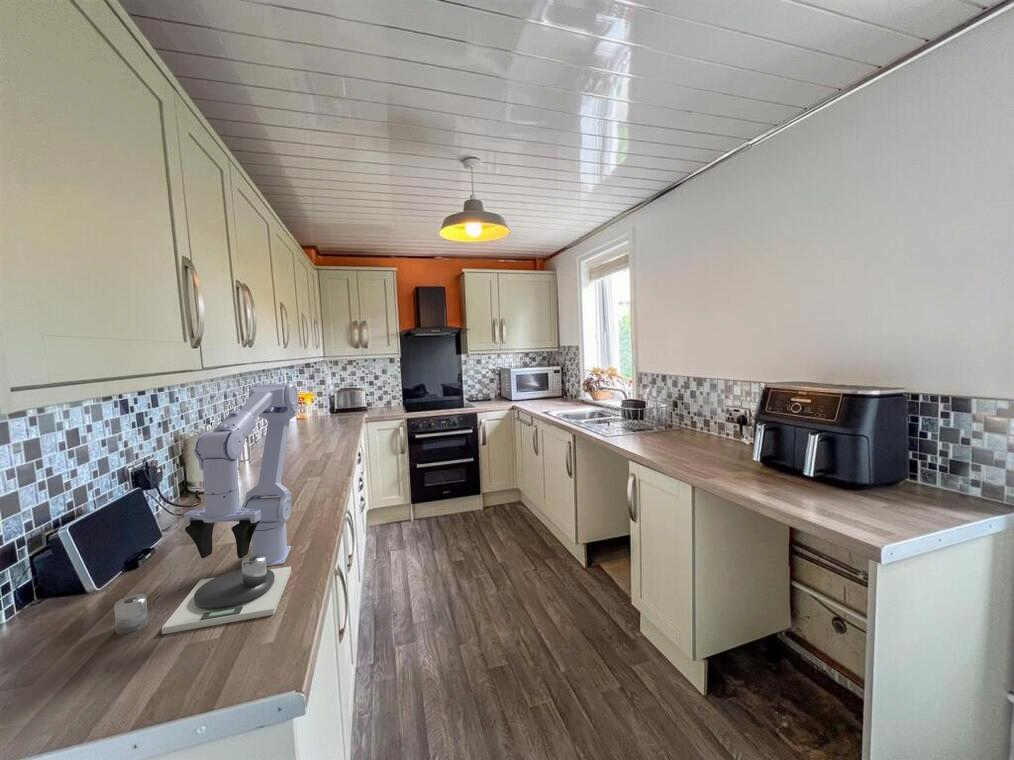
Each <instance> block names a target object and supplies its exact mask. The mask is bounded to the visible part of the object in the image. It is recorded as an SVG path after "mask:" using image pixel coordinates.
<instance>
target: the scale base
mask: <svg viewBox="0 0 1014 760" xmlns="http://www.w3.org/2000/svg"><path fill="white" fill-rule="evenodd" d="M269 570H271V571H272V572H273V573H274V578H275V579H274V583H273V585H272V586H271V587H270V588H269V589H268V590H267V591H266V592H264V593H263V594H261V595H260V596H258V597H256V598H254V599H252V600H249V601H247V602H244V603H242V604H238V605H235V606H231V607H226V608H220V609H204V608H200V607H198V606H197V605H196V604H195V603H194V594H195V592H196V591H197V590H198V589H199V588H200V587H201V586H202V585H204V584H205V583H207V582H208V581H210V580H212V579H214V578H215V577H211V578H210V577H209V578H202V579H200V580H199V581H198V582H197V584H196V585H194V587H193V588H192V589H191V591H190V592H189V593H188V595H187V596H186V597H184V599H183V601H182V602H181V603H180V605H179V606H178V607H177V608H176V609H175V611H174V612H173V613H172V614H171V616H170V617H169V618H168V619H167V621H166V622H164V624H163V626H162V627H161V634H162V635H165V634H172V633H177V632H184V631H188V630H189V631H190V630H194V629H199V628H205V627H206V628H207V627H210V626H211V627H212V626H217V625H223V624H228V623H234V622H240V621H246V620H251V619H257V618H263V617H268V616H274V615H275V613H276V610H277V608H278V606H279V603H280V600H281V598H282V596H283V594H284V591H285V589H286V585H287V584H288V580H289V578H290V576H291V573H292V566H285V567H278V568H271V569H269Z"/></svg>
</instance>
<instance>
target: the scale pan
mask: <svg viewBox="0 0 1014 760" xmlns="http://www.w3.org/2000/svg"><path fill="white" fill-rule="evenodd" d="M213 578H214V579H212V580H210V581H208V582H207V583H205V584H204V585H202V586H201V587H200V588H199V589H198V590H197V591H196V592H195V594H194V603H195V604H196V605H197V606H198V607H200V608H204V609H220V608H226V607H231V606H235V605H238V604H242V603H244V602H247V601H249V600H252V599H254V598H256V597H258V596H260V595H261V594H263V593H264V592H266V591H267V590H268V589H269V588H270V587H271V586H272V585H273V583H274V579H275V578H274V573H273V572H272V571H271V570H270V569H268V568H267V581H266V582H265V583H263V584H261V585H259V586H256V587H251V588H246V587H243V579H242V568H241V569H237V570H233V571H230V572H226V573H224V574H221V575H219V576H217V577H213Z"/></svg>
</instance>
